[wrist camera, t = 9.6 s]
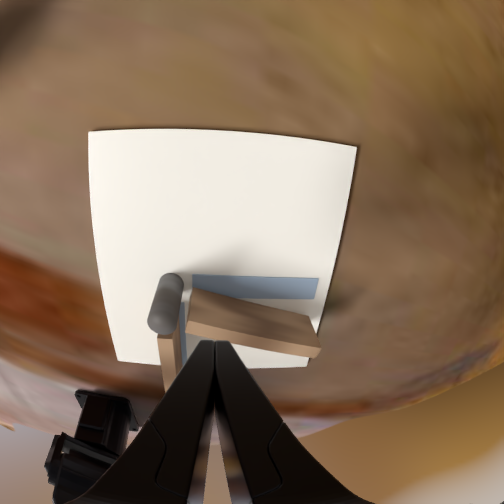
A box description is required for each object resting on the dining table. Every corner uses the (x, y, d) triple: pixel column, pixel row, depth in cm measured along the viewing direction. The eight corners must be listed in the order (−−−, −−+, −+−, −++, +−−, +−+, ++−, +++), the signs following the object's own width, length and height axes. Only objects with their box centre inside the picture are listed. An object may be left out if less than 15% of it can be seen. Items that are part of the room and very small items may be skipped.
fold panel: (189, 298, 21) (185, 332, 17) (193, 287, 20) (188, 320, 17) (303, 325, 23) (315, 358, 20) (308, 315, 22) (321, 348, 19)
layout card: (305, 363, 26) (306, 367, 26) (119, 357, 24) (117, 361, 23) (354, 146, 18) (357, 147, 17) (91, 131, 16) (88, 131, 15)
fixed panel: (188, 363, 25) (184, 406, 20) (167, 362, 24) (161, 405, 20) (184, 270, 21) (176, 312, 16) (159, 269, 20) (145, 310, 16)
